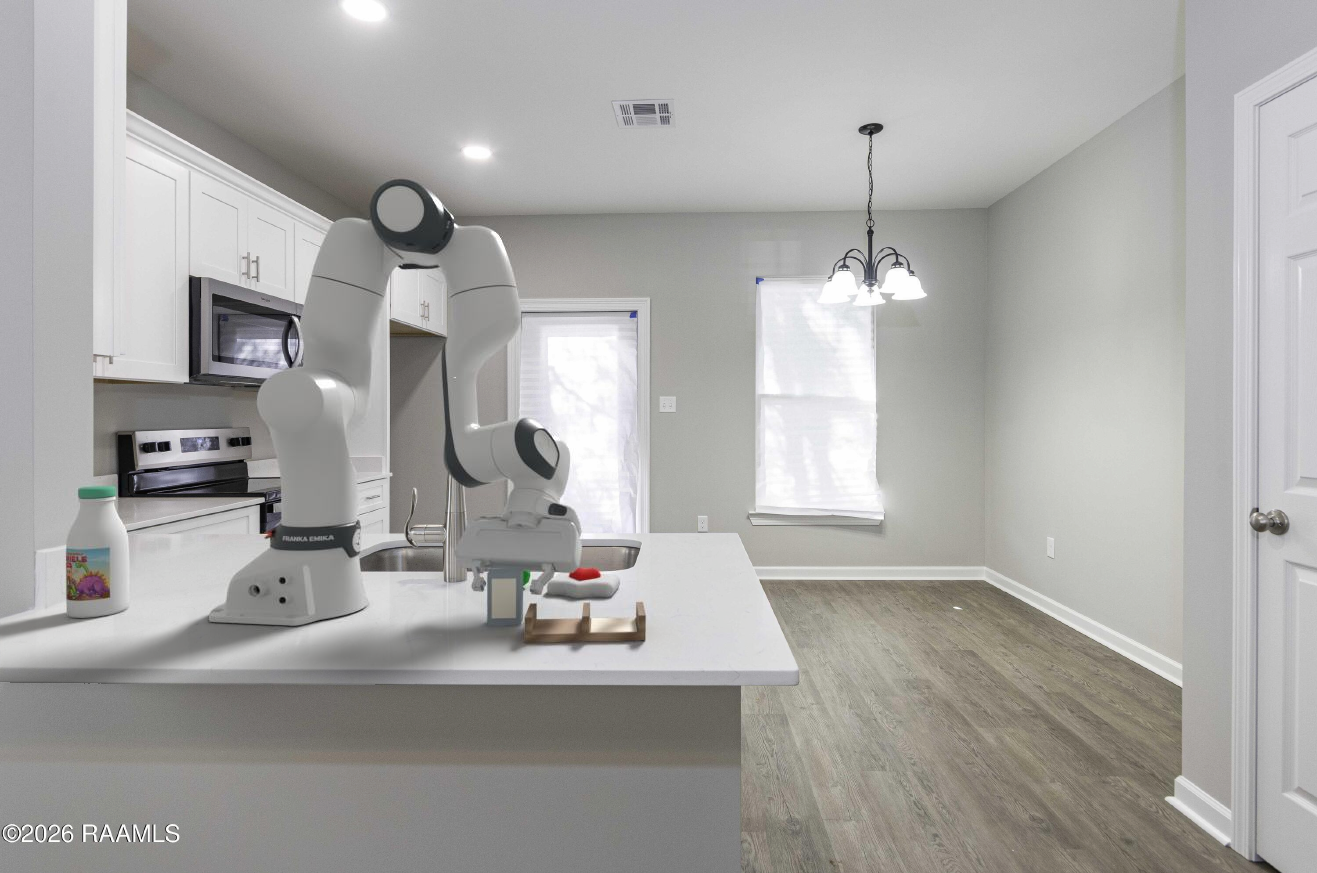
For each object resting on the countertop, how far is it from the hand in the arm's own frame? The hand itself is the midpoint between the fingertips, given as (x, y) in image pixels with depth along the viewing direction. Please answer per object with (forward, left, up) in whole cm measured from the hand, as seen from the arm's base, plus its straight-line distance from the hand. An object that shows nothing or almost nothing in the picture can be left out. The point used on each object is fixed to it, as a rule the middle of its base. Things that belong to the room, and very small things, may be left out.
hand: (505, 591), depth 102 cm
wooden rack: (+12, -6, -5) cm, 15 cm away
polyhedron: (-1, +21, -5) cm, 22 cm away
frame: (0, 0, -5) cm, 5 cm away
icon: (+11, +18, -5) cm, 22 cm away
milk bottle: (-65, +9, -5) cm, 66 cm away
